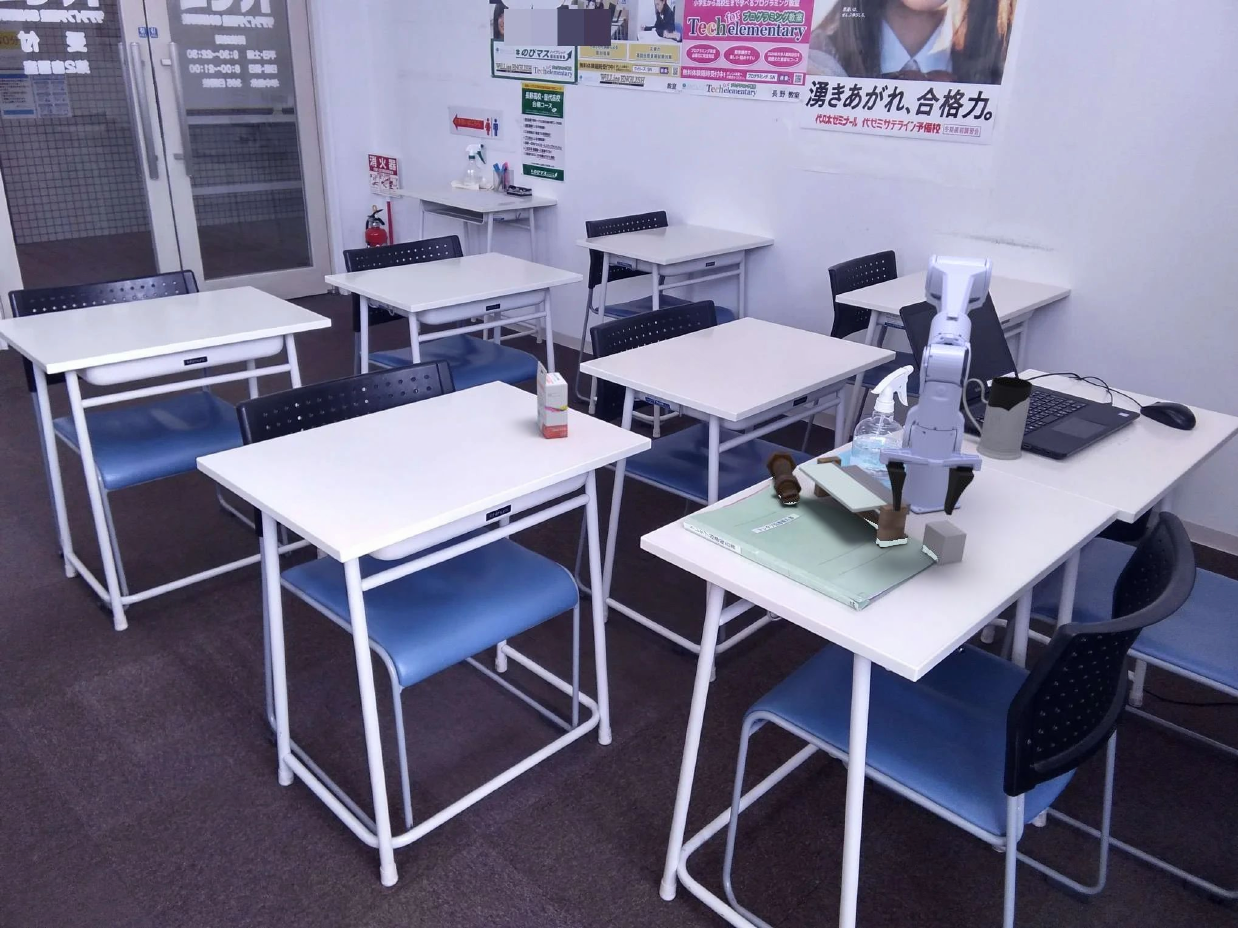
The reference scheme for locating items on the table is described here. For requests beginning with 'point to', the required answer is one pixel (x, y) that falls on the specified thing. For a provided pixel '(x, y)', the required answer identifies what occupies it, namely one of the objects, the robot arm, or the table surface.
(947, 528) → the grey cube
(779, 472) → the bolt
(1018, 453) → the glass holder
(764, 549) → the table surface
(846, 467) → the trapdoor
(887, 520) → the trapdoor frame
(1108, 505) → the table surface
